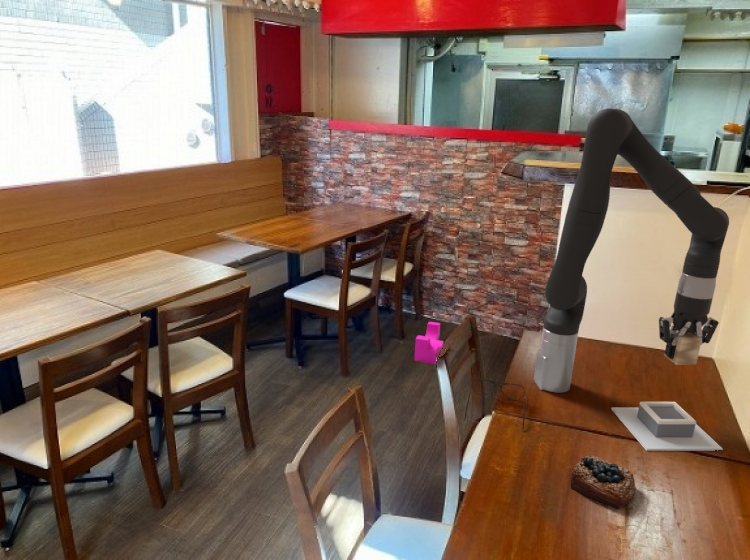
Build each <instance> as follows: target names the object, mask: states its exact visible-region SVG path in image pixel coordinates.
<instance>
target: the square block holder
mask: <svg viewBox="0 0 750 560" xmlns="http://www.w3.org/2000/svg"><path fill="white" fill-rule="evenodd" d="M611 411H612V413H614V415H616V417H617V418H618V419H619V420H620V422H622V424H623V425H624V426H625V427H626V428H627V430H628V431H629V432H630V433H631V434H632V436H634V438H635V439H636V440H637V441H638V443H639V444H640V445H641V446H642V447H643V448H644V449H645V451H646V452H652V451H653V452H667V451H668V452H680V451H681V452H691V451H693V452H695V451H697V452H701V451H702V452H703V451H704V452H711V451H713V452H715V450H717V452H719V451H718V450H722V451H723V450H724V449H723V447H722V446H721V445H719V444H718V443H717V442H716V441H715V440H714V439H713V438H712V437H711V436H710V435H708V434H707V433H706V432H705V430H703V429H702V428H701V427H700V426H699V425H698V424H697V420H695V419H694V418H693V417H692V416H691V415H690V414H689V413H688V412H687V411H685V410H684V409H683V408H682V407H681V405H679V404H678V403H677V402H676V401H639V406H638V407H630V406H628V407H623V406H622V407H621V406H620V407H617V406H616V407H611Z"/></svg>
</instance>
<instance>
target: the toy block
mask: <svg viewBox="0 0 750 560" xmlns="http://www.w3.org/2000/svg"><path fill="white" fill-rule="evenodd" d="M426 327H427V328H426V330H425V331H426V333H425V336H424V335H419V334H418V335H417V336H416V338H415V345H414V361H416V362H422V363H426V364H432V365H435V363H436V362H437V361H436V357H437V355H438V354H439V352H440V350H441V349H442V347H443V348H444V340H440V335H441V334H440V333H441V322H433V321H428V323H427V325H426Z"/></svg>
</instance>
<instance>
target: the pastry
mask: <svg viewBox="0 0 750 560" xmlns="http://www.w3.org/2000/svg"><path fill="white" fill-rule="evenodd" d="M570 488H571V489H573V490H574V491H576V492H577V493H580V494H581V495H583V496H585V497H588V498H590V499H593V500H595V501H596V502H597V503H600V504H604V505H606V506H609V507H612V508H614V509H617V510H620V509H622V508H624V507H625V506H627V504H628V503H629V502H630V501H631V500H632V498H633V497H634V495H635V489H636V483H635V477H634V473H633V472H632V471H631V470H629V469H628V468H624V467H621V466H620V465H618V464H616V463H610V462H608V461H607V460H603V459H602V458H599V457H598V456H594V454H593V455H592V454H590V455H589V454H588V455H587V456H582V457H581V459H580V460H579V461H578V462H577V463H576V464H575V465H574V467H573V468H572V471H571V474H570Z"/></svg>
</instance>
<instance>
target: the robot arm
mask: <svg viewBox="0 0 750 560" xmlns="http://www.w3.org/2000/svg"><path fill="white" fill-rule="evenodd" d="M584 139H585V140H584V145H583V152H582V157H581V158H582V159H581V163H580V167H579V171H578V173H577V177H576V180H575V183H574V186H573V189H572V192H571V196H570V198H569V199H570V200H569V202H568V207H567V210H566V213H565V216H564V217H565V218H564V223H563V227H562V230H561V235H560V239H559V246H558V250H557V254H556V258H555V261H554V264H553V267H552V268H551V272H550V274H549V276H548V279H547V282H546V283H545V289H544V297H545V300H546V301H547V304H549V307H548V309H547V313H546V314H545V317H544V319H543V325H542V335H541V341H540V342H541V343H540V349H537V352H536V359H535V367H534V368H535V369H534V376H533V381H534V382H535V384H536V386H537V387H538V388H539V390H541V391H547V392H550V393H556V394H557V393H558V394H559V393H566V392H568V391H569V390H570V388H571V383H572V377H573V376H572V375H573V371H574V370H573V369H574V362H575V357H576V350H577V344H578V343H577V342H578V336H579V331H580V325H581V322H582V320H583V316H584V311H585V307H586V301H587V295H588V284H587V280H586V279H585V277H584V276H583V273H584V269H585V265H586V264H587V260H588V259H589V257H590V254H591V252H592V250H593V248H594V247H595V244H596V243H597V240H598V239H599V236H600V234H601V232H602V229H603V227H604V224H605V220H606V215H607V213H608V209H609V208H608V207H609V206H610V205H609V203H610V195H611V179H612V177H611V176H612V173H613V169H614V166H615V162H616V159H617V157H618V155H619V156H620V157H621V158H622V159H624V160H625V161H626V162H627V163H629V165H630V166H631V167H632V168H633V169H634V170H635V172H636V173H637V174H638V175H639V177H640V178H641V179H642V181H643V182H644V183H645V185H646V186H647V187H648V188H649V190H650V191H651V192H652V193H653V194H654V195H655V196H656V197H657V198H658V199H659V200H660V201H661V202H662V203H663V204H664V205H666V207H668V208H669V209H670V210H671V211H672V212H674V214H675V215H676V216H677V218H678V219H679V220H680V222H681V223H682V224H683V226H685V228H686V229H687V230H688V231H689V232H690V233H691V235H690V236H691V237H690V241H689V242H690V243H689V246H688V250H687V252H686V255H685V257H684V262H683V265H682V266H683V267H682V271H681V274H680V277H679V280H678V285H677V289H676V293H675V298H674V303H673V312H672V314H671V316H670V317H663V316H660V317H659V318H658V328H659V330H658V333H659V339H660V340H661V341H662V342H664V343H665V344H666V345H665V349H664V355H666V356H667V357H668V358H669V359H674V354H675V350H676V344H677V342H678V338H679V337H683V335H684V334H686V333H692V334H694V335H696V336H697V337H701V338H702V341H701V345H700V346H702V345H703V344H710V342H711V340H712V338H713V335H715V332H716V330H717V327H718V325H719V321H718V320H717V319H715V318H712V317H711V316H710V317H708V315H709V314H710V312H711V307H712V304H713V303H712V302H713V298H714V294H715V290H716V285H717V276H718V272H719V267H720V264H721V255H722V254H721V253H722V249H723V245H724V243H725V240H726V235H727V232H728V229H729V227H730V226H729V225H730V217H729V215H728V213H726V211H725V210H724V209H722V208H719V207H718V206H717V207H716V206H713V205H712V204H711V203H710V202H709V201H708V200H707V199H706V198H705V197H703V195H702V194H701V192H700V190H699V188H698V187H697V186H696V185H695V184H694V183H693V182H691V180H690V179H689V178H687V176H685V175H684V174H683V173H682V172H681V171H680V170H679V169H678V168H677V167H675V166H674V165H673V164H672V163H671V162H670V161H669V160H668V159H667V158H665V157H664V156H663V155H662V154H661V153H660V152H659V151H658V150H657V149H656V148H655V147H654V146H653V145H652V144H651V143H650V141H648V140H647V138H646V137H645V136H644V134H643V133H642V132H641V131H640V129H639V128H638V126H637V125H636V124H635V122H634V121H633V119H632V118H631V116H630V115H629V113H627V112H626V111H625V110H623V109H620V108H605V109H601V110H599V111H597V112H596V113H595V114H594V115H592V117H591V118H590V120H589V122H588V124H587V127H586V132H585V138H584ZM702 327H703V328H702ZM677 330H678V331H679V332H677ZM673 335H675V336H674V338H673ZM666 356H665V357H666ZM667 357H666V358H667ZM668 358H667V359H668ZM669 359H668V360H669Z"/></svg>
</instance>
